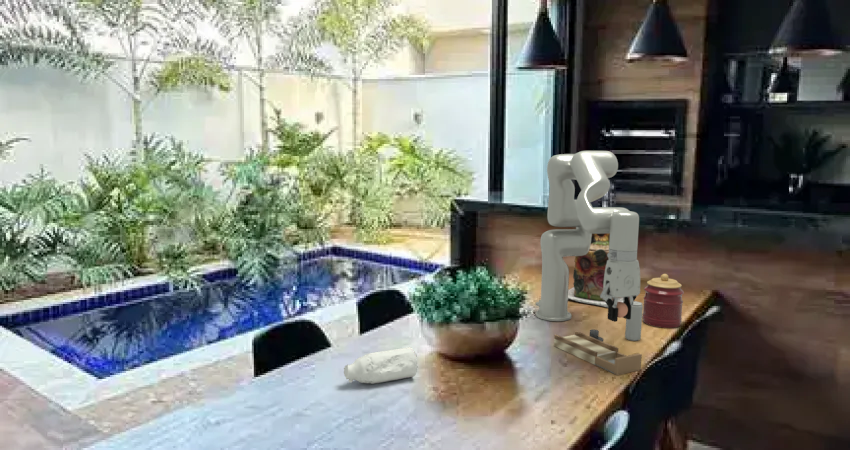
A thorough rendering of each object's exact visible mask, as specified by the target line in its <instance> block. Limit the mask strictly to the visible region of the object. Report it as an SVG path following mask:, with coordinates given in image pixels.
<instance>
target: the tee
mask: <svg viewBox="0 0 850 450" xmlns="http://www.w3.org/2000/svg"><path fill="white" fill-rule="evenodd" d="M599 333H600V330H598V329H594V328H593V329H590V330H589V336H590V337H593V338H595V339H598V340H600V341H602V342H604V338H603V337H601V336H600V335H599Z"/></svg>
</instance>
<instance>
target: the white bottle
mask: <svg viewBox="0 0 850 450" xmlns="http://www.w3.org/2000/svg"><path fill="white" fill-rule="evenodd" d="M417 358H418V357H417V354H416V351H415V350H414V348H412V347H410V346H407V347H401V348H395V349H389V350H382V351H376V352H371V353H370V352H369V353H366V354H365V355H362V356H360V357H357V358H356V359H355V360H354V361H353V362H352V363H351V364H346V365H345V366H344V367H343V375H344V377H345V380H348V382H349V383H350V384H351V383H353V381H357V382H359V383H360V384H361V383H362V384H370V385H373V384H379V383H385V382H391V381H397V380H401V379H407V378H414V377H415V376H416V375H417V373H418V368H419V366H418V361H417Z"/></svg>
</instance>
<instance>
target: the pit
mask: <svg viewBox="0 0 850 450" xmlns="http://www.w3.org/2000/svg"><path fill="white" fill-rule="evenodd" d="M642 357H643V356H642V353H639V352H638V353H637V352H636V353H633V354H628V355H627V354H625V353H622V352H619V351H618V352H616V358H615V359H613V360H609V361H606V360H604V359H602V358H600V357H595V365H594V366H596V367H598V368H601V369H602V370H605V371H606V372H610V373H612V374H614V375H616V376H619V375H624V374H629V373H632V372H637V371H641V370H642Z"/></svg>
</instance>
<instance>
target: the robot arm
mask: <svg viewBox="0 0 850 450" xmlns="http://www.w3.org/2000/svg"><path fill="white" fill-rule="evenodd" d="M546 168H547V169H546V172H547V178H548V182H549V183H548V185H549V191H548V192H549V193H548V194H549V195H548V202H547V203H548V205H547V216H546V217H547V222H548V224H549V225H550V226H552V227H555V228H557V227H558V228H559V229H549V230H547V231H545V232H542V234H541V237H540V241H539V242H540V250H541V288H540V299H539V300H538V301H536V302H535V306H536V307H538V309H537V311H535V317H536V318H538V319H541V320H543V321H548V322H549V321H551V322H564V321H565V322H567V321H569V320H571V319H572V317H573V316H572V313H571V312H569V311H568V303H569V299H568V290H569V284H570V283H569V282H570V268H569V266H568V264H567V262H566V261H565V260H564V257H566V258H567V257H575V256H583V255H586V254H587V253H588V252H589V249H590V245H591V237H592V234H605V233H610V235H609V239H608V241H609V253H608V254H607V256H608V260H607V264H606V268H605V274H604V283H603V291H602V293H601V295H600V298H601V299H603V300H604V301H605V303H606V305H607V306H608V307H607V320H608V321H612V322H616V323H617V322H618V318H619V317H618V308H617V307H616V306H617V302H618V298H623V303H625V304H626V306H627V308H628V312H627V314H626V315H625V316H624V317H621V318H623V319H624V320H626V319H628V320H629V319H631V305H633V301H636V299H637V297H638V296H639V295H640V294H641V269H640V263H639V260H638V246H639V245H638V244H639V228H640V227H639V226H640V215H639V214H638V213H637V212H636V211H630V210H629V209H628V208H626V207H614V206H613V207H611V206H610V207H609V206H608V207H601V206H600V207H598V206H597V207H593V205H592V202H594V201H597V200H599V199H601V198H603V197H604V196H605V195H606V194H608V192H609V190H610V187H611V183H610V178H612V177H614V176H615V175H616V174H617V172H618V169H619V162H618V159H617V156H616V155H615V154H614V153H613V152H611V151H608V150H581V151H579V152H576V153H564V154H563V153H561V154H556V155H553V156H551V157H550V158H549V160H548V162H547V166H546ZM572 180H576V181H577V183H578V186H579V188H580V192H579V194H578V196H577V198H576V199H575V191H576V190H575V189H576V187H575V184H574V183H573V181H572ZM570 227H571V228H573V229H571V228H570ZM560 228H561V229H560ZM562 228H564V229H562ZM565 228H567V229H565ZM568 228H570V229H568ZM612 298H614V299H613V301H612Z"/></svg>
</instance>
